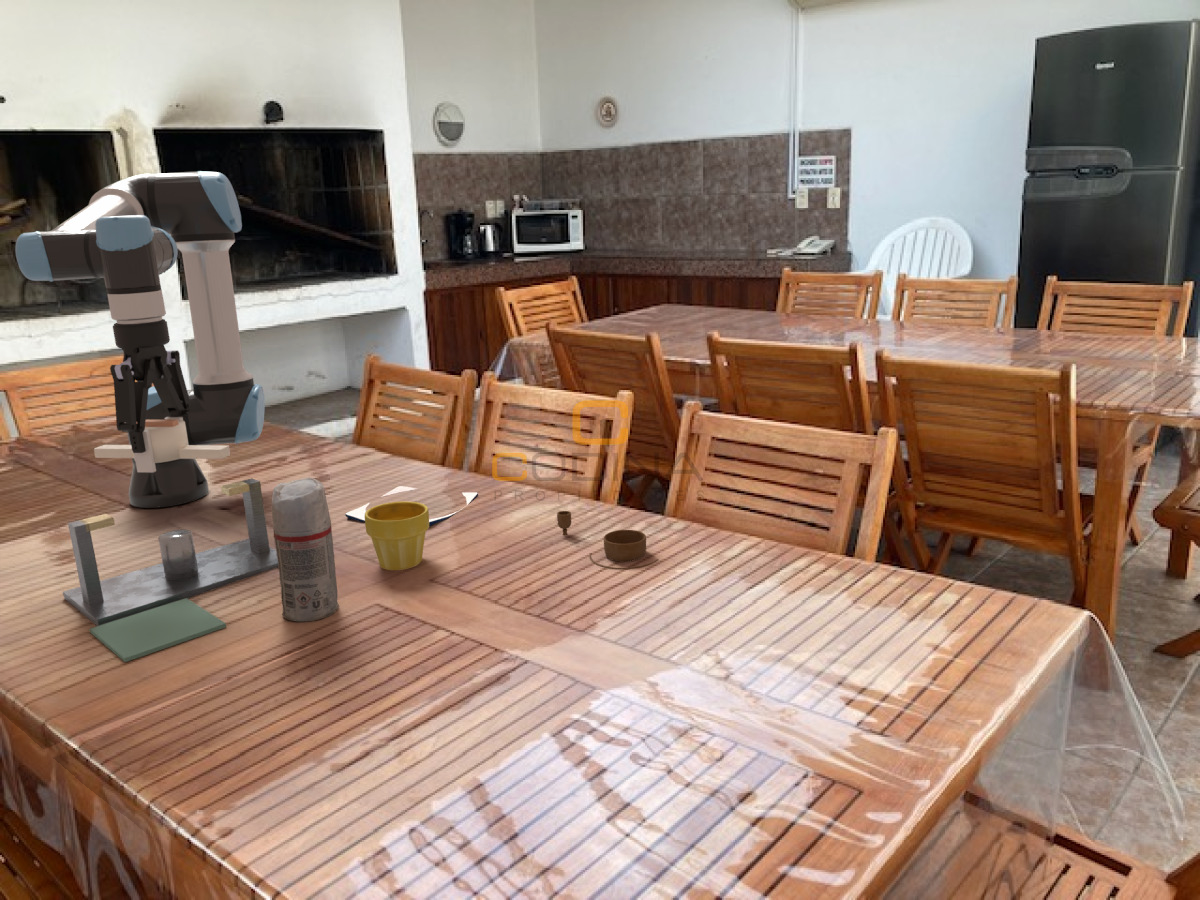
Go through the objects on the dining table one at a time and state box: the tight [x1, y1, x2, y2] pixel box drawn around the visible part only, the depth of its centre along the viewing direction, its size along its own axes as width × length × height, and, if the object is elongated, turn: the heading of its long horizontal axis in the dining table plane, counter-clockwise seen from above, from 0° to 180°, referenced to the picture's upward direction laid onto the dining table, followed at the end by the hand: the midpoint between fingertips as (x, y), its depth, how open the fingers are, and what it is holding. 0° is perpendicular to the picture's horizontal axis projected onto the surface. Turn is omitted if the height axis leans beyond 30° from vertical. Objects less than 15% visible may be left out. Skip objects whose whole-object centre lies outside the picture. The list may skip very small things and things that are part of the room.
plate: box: [344, 485, 479, 527], centre depth 182 cm, size 20×20×3 cm
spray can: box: [271, 476, 340, 622], centre depth 137 cm, size 8×8×20 cm
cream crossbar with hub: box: [93, 420, 231, 463], centre depth 147 cm, size 22×8×6 cm, turn 80°
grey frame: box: [62, 478, 278, 627], centre depth 152 cm, size 31×16×14 cm, turn 135°
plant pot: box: [364, 500, 430, 571], centre depth 155 cm, size 10×10×10 cm
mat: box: [89, 598, 227, 663], centre depth 135 cm, size 14×14×1 cm
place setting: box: [556, 510, 660, 570], centre depth 157 cm, size 18×20×6 cm
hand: (163, 463), depth 148 cm, fingers closed on cream crossbar with hub, 8 cm apart
